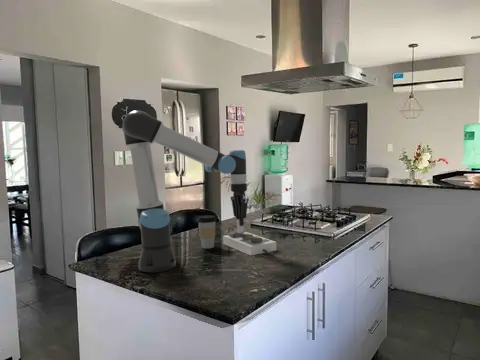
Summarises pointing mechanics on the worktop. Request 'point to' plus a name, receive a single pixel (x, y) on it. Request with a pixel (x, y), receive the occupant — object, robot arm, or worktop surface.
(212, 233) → the coffee cup
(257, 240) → the rocker
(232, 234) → the rocker
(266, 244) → the power strip
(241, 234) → the rocker
